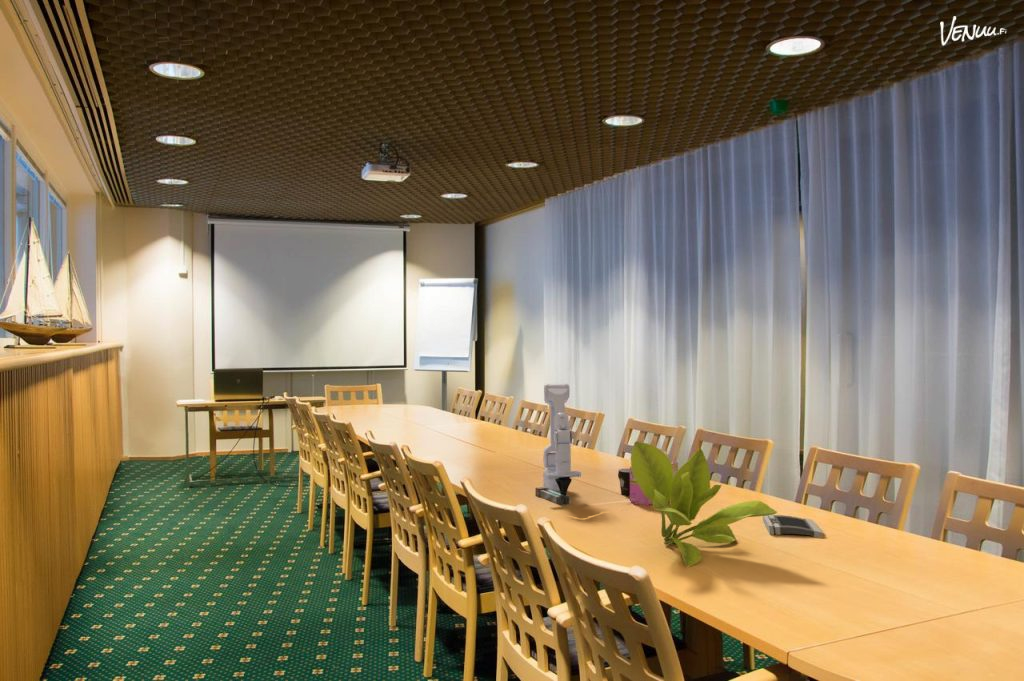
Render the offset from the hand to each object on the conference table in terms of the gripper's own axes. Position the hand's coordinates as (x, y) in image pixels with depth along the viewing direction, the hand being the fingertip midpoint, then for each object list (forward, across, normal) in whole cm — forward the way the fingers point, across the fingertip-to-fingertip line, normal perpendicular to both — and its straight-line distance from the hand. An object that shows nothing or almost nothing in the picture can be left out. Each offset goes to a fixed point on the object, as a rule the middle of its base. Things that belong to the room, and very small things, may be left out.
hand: (563, 497), depth 285 cm
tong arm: (+1, -1, +2) cm, 3 cm away
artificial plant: (+3, +3, -71) cm, 71 cm away
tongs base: (+2, -3, +4) cm, 5 cm away
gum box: (+2, +34, -10) cm, 36 cm away
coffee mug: (+2, +30, +1) cm, 31 cm away
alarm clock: (+3, +47, -67) cm, 82 cm away
